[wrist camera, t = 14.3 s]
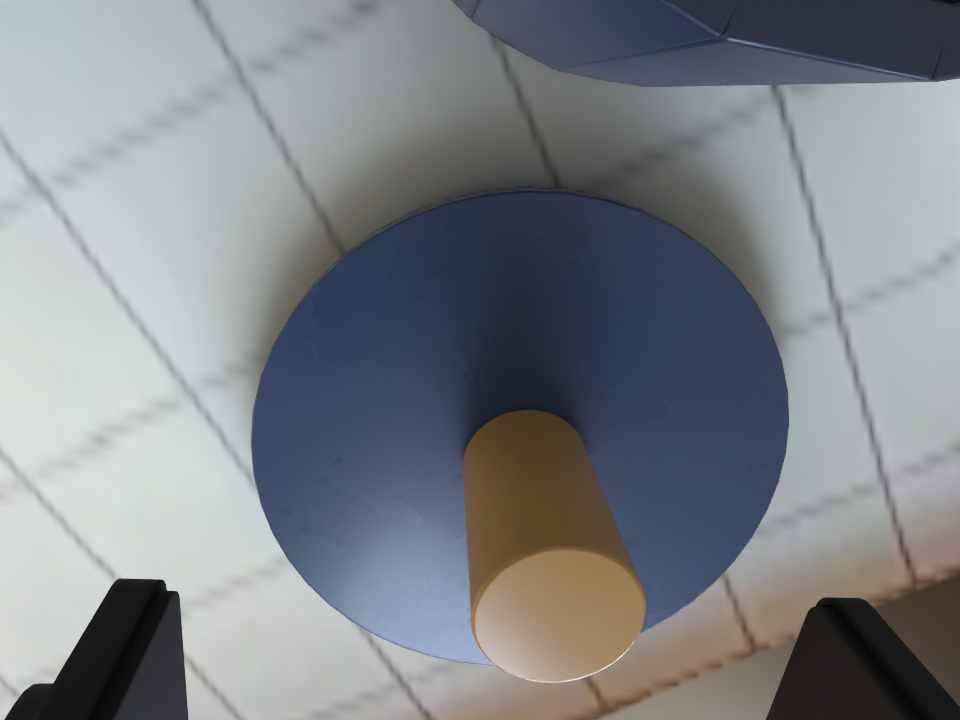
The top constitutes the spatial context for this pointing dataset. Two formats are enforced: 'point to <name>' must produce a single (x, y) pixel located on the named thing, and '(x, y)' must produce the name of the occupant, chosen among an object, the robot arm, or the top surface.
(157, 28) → the top surface
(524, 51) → the tin
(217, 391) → the top surface
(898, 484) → the top surface
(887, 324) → the top surface
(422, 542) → the tin lid
